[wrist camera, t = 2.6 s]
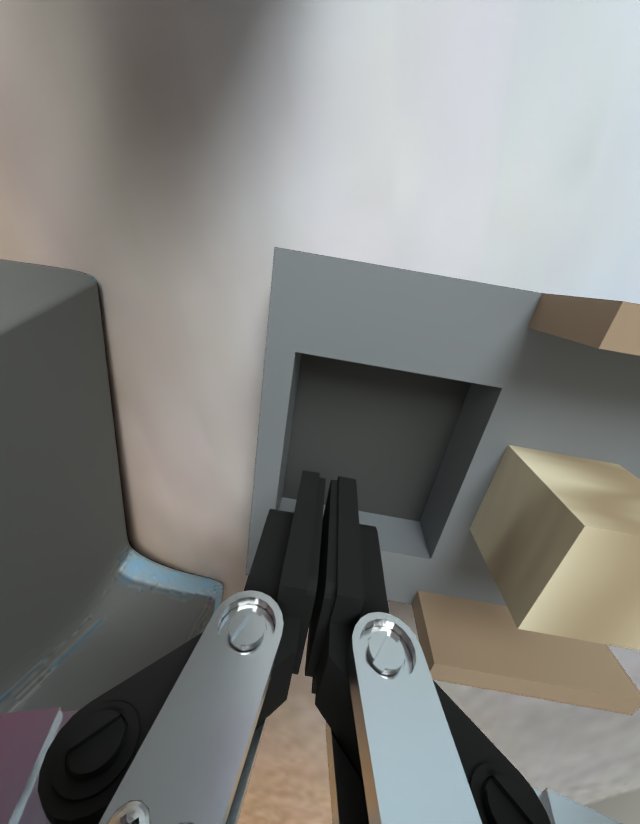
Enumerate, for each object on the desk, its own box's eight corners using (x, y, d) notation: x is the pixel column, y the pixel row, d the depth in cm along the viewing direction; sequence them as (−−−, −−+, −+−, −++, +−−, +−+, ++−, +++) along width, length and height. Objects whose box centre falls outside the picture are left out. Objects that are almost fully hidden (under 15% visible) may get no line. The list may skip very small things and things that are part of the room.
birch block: (618, 464, 11) (748, 554, 8) (566, 546, 13) (652, 653, 9) (508, 444, 11) (584, 525, 8) (469, 528, 13) (517, 629, 9)
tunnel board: (910, 359, 12) (1344, 426, 7) (675, 609, 17) (811, 747, 12) (288, 252, 12) (245, 236, 7) (258, 534, 17) (223, 641, 12)
